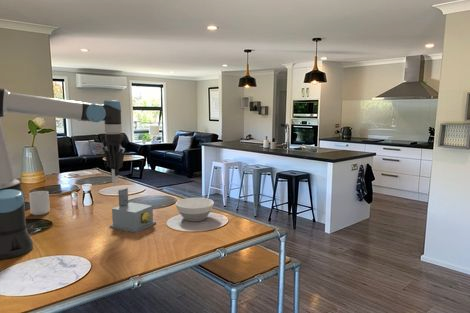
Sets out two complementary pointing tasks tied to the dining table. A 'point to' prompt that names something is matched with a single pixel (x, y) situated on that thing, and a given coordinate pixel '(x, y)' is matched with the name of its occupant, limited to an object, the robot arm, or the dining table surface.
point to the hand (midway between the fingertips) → (115, 182)
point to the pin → (145, 217)
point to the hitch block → (131, 217)
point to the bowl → (194, 208)
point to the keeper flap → (123, 197)
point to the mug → (39, 202)
